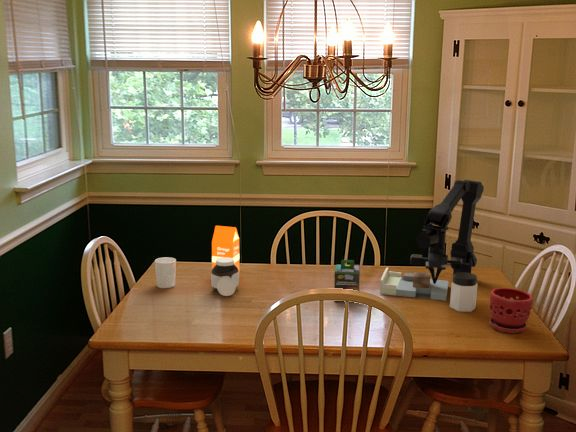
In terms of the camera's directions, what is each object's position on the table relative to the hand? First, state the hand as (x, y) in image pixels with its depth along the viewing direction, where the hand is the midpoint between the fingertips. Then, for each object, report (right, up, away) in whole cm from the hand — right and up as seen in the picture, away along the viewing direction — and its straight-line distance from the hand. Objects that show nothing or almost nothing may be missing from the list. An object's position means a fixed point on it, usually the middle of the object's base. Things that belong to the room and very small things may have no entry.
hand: (434, 283), depth 253 cm
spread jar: (-78, -3, -1) cm, 78 cm away
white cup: (-101, -1, +4) cm, 101 cm away
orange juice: (-80, +1, +17) cm, 81 cm away
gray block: (-8, -1, +9) cm, 12 cm away
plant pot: (+17, -12, -31) cm, 37 cm away
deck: (-7, -3, +3) cm, 8 cm away
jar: (+7, -7, -14) cm, 17 cm away
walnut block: (-5, -1, +1) cm, 5 cm away
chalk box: (-33, -5, -6) cm, 34 cm away
